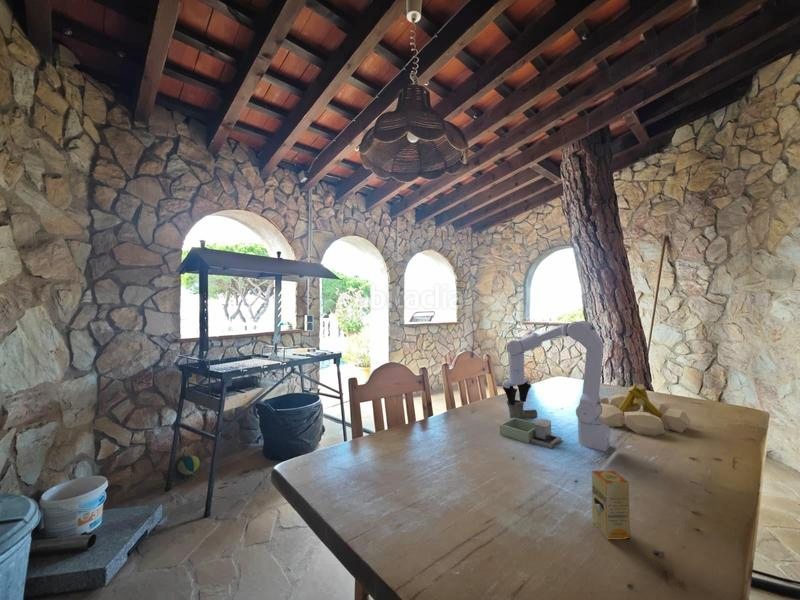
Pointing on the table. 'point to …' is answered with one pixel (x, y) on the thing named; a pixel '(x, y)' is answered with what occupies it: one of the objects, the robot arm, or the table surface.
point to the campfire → (642, 413)
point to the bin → (511, 431)
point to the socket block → (552, 444)
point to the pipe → (520, 411)
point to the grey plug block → (543, 430)
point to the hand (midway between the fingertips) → (517, 403)
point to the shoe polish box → (610, 504)
